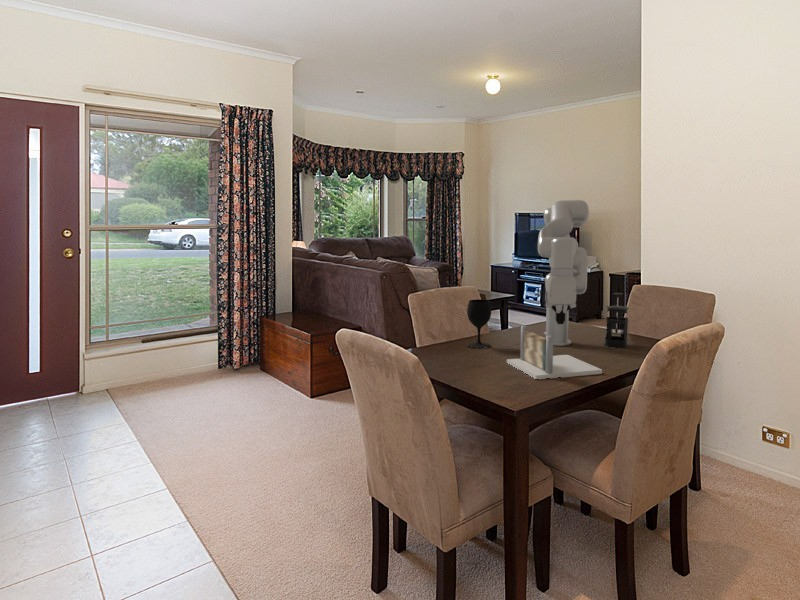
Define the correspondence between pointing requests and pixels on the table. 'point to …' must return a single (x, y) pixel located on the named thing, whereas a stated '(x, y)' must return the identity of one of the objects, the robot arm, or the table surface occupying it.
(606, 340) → the french press
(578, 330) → the table surface
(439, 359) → the table surface
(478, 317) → the wine glass
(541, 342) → the beige wavy patterned slab
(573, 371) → the white base with posts
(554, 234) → the robot arm
